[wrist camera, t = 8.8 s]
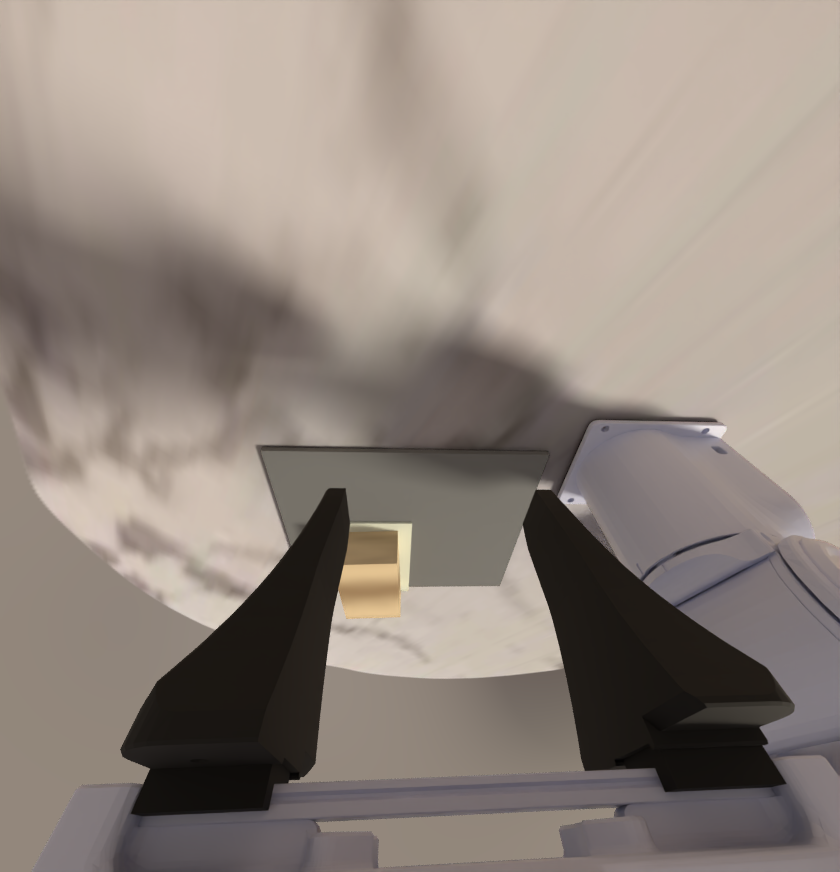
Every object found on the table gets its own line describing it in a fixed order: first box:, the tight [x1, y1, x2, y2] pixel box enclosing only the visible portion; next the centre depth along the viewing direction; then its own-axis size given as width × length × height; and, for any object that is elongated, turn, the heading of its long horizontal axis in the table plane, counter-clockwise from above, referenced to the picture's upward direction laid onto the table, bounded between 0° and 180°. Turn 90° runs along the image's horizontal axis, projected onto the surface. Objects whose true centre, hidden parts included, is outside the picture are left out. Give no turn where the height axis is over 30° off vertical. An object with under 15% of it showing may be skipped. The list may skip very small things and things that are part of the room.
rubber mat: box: [261, 447, 549, 591], centre depth 29 cm, size 20×18×1 cm
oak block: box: [338, 531, 401, 619], centre depth 29 cm, size 9×5×3 cm, turn 179°
